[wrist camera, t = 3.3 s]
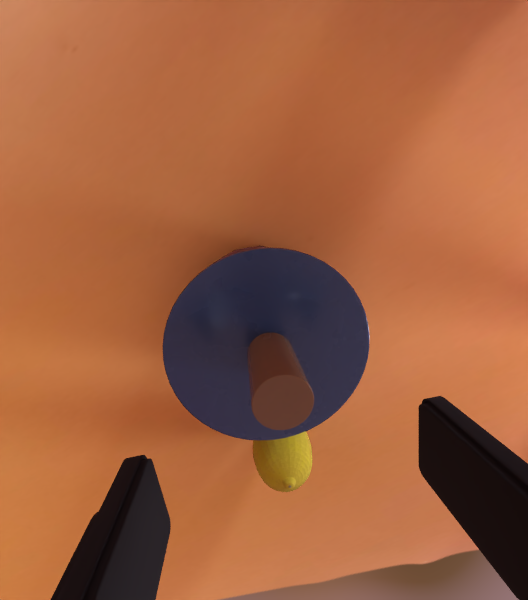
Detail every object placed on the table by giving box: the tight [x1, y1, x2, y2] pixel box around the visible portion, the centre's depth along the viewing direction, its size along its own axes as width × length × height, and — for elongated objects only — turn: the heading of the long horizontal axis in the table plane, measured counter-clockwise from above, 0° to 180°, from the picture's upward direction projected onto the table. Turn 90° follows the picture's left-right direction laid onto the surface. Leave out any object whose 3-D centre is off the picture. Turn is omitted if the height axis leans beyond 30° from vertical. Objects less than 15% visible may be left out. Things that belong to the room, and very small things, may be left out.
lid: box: [163, 248, 369, 440], centre depth 15 cm, size 13×13×6 cm
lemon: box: [253, 431, 312, 492], centre depth 26 cm, size 6×6×8 cm
